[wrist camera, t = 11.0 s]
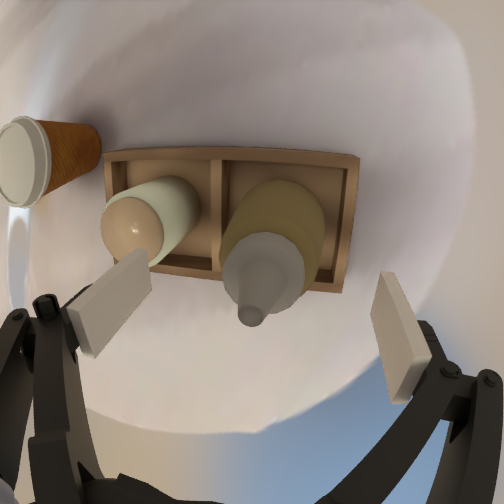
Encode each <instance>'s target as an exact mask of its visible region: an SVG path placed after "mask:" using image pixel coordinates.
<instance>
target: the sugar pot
mask: <svg viewBox="0 0 504 504" xmlns="http://www.w3.org/2000/svg"><path fill="white" fill-rule="evenodd" d="M200 217H201V202H200V198H199V196H198V194H197V192H196V190H195V189H194V187H193V186H192V185H191V184H190V183H189V182H187V181H186V180H184V179H183V178H180V177H178V176H173V175H167V176H162V177H159V178H156V179H154V180H151V181H148V182H146V183H143V184H140V185H138V186H135V187H133V188H130V189H128V190H125V191H123V192H120V193H118V194H116V195H115V196H113V197H112V198H111V199H110V200H109V201H108V203H107V204H106V206H105V208H104V211H103V215H102V220H101V233H102V237H103V241H104V243H105V245H106V247H107V249H108V250H109V252H110V253H111V254H112V255H113V256H114V257H115V258H116V259H117V260H118V261H120V260H122V259H123V258H124V257H125V256H126V255H128V254H129V253H130V252H131V251H133V250H134V249H135V248H141V249H147V256H148V264H149V267H151V266H154V265H156V264H157V263H158V262H160V261H161V260H162V259H163V258H164V257H165V256H166V255H167V254H168V253H169V252H170V251H171V250H172V249H174V248H175V247H176V246H177V245H178V244H179V243H180V242H181V241H182V240H183V239H184V238H185V237H186V236H188V235H189V234H190V233H191V232H192V231H193V230H194V229H195V228H196V226H197V225H198V223H199V220H200Z"/></svg>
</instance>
